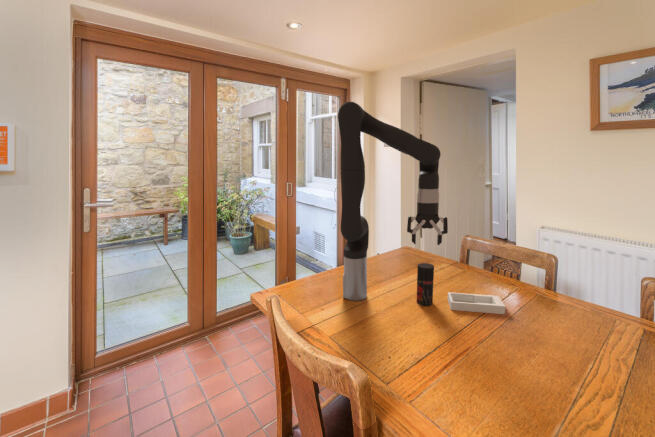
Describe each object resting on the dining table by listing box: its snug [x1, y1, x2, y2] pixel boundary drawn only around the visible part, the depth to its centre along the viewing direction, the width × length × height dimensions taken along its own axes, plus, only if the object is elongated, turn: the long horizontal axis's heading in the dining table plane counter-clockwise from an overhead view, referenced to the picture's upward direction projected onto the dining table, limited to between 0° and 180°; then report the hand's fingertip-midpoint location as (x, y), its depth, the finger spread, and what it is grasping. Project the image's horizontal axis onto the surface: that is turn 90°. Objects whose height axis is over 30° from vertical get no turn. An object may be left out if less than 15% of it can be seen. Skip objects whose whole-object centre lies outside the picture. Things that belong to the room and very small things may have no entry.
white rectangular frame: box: [447, 291, 506, 315], centre depth 118 cm, size 18×9×3 cm, turn 77°
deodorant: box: [416, 262, 435, 307], centre depth 121 cm, size 6×6×15 cm
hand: (426, 244), depth 118 cm, fingers open, 8 cm apart
